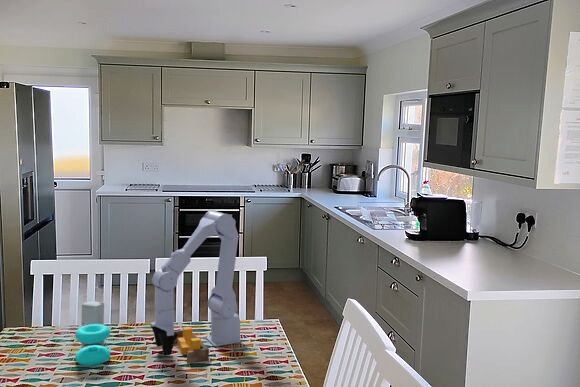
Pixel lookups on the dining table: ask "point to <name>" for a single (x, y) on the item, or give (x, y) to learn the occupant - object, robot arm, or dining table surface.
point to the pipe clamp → (188, 341)
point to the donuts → (93, 352)
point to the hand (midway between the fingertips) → (163, 350)
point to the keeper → (195, 351)
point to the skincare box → (92, 313)
